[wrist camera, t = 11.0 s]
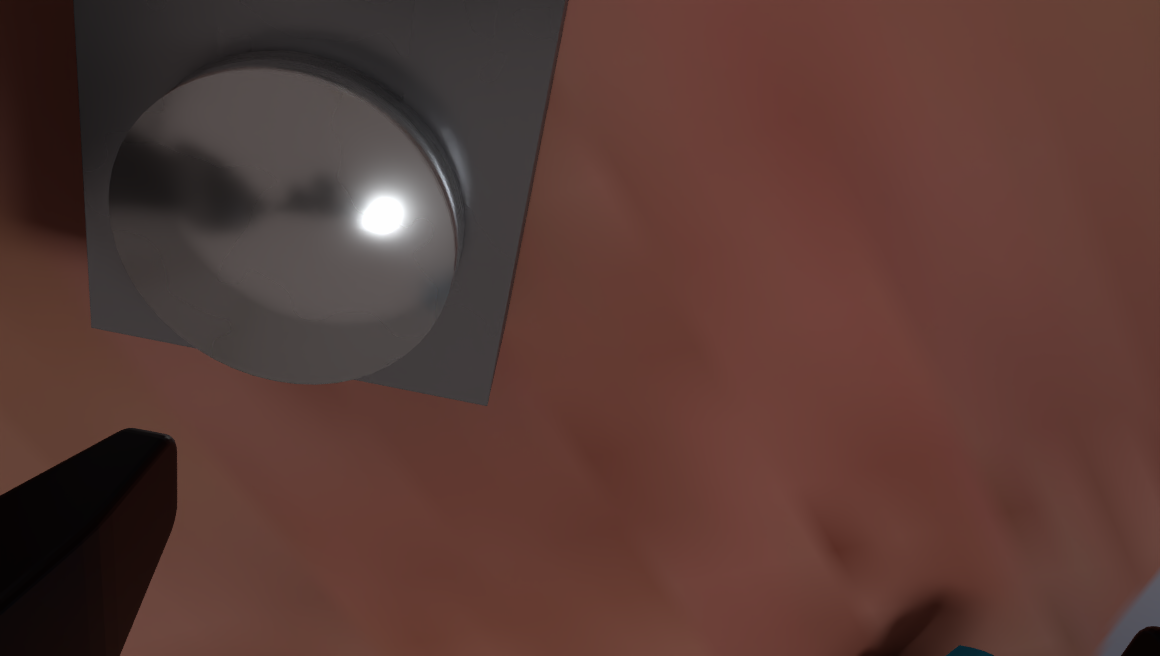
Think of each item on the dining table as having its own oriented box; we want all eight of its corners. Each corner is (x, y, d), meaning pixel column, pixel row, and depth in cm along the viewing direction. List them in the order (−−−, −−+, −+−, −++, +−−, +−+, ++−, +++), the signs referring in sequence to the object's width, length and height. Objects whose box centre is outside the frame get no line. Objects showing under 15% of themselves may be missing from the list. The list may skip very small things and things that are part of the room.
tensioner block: (153, 258, 23) (62, 360, 19) (139, -534, 16) (-10, -603, 12) (504, 329, 24) (478, 442, 20) (647, -409, 16) (648, -440, 13)
